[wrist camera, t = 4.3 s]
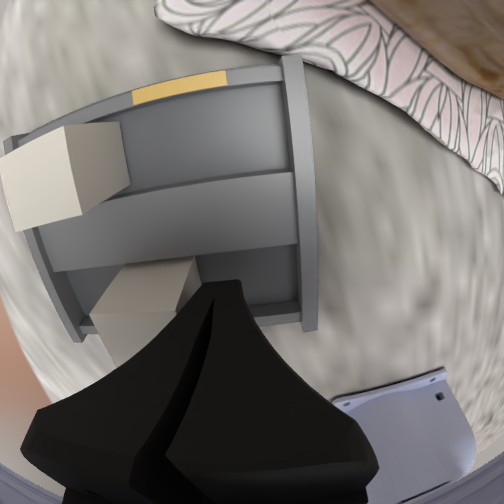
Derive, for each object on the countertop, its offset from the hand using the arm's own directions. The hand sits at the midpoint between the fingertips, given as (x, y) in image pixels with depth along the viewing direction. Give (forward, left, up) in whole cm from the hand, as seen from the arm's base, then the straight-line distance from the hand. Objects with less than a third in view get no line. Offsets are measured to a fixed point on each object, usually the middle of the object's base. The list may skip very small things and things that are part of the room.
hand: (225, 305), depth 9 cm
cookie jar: (-14, -16, -3) cm, 22 cm away
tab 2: (+3, 0, -2) cm, 3 cm away
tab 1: (+5, -6, -2) cm, 7 cm away
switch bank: (+2, -3, -3) cm, 5 cm away
